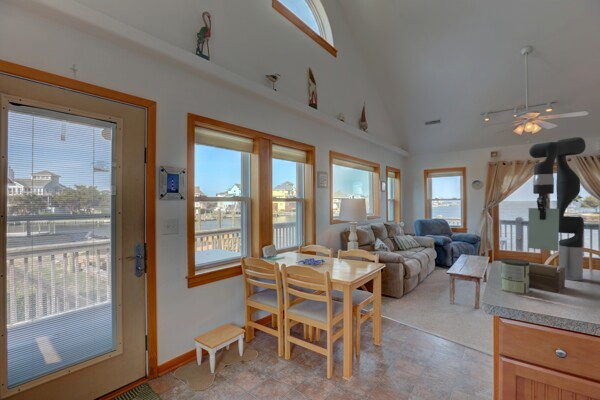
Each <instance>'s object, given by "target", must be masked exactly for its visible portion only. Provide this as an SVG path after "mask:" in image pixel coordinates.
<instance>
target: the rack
mask: <svg viewBox="0 0 600 400" xmlns="http://www.w3.org/2000/svg"><path fill="white" fill-rule="evenodd" d="M565 280H566V279H565V268H562V267H561V268H560V269H559V268H558V269H557V271H556V272H555V276H549V275H543V274H537V273H531V272H529V289H530V288H531V289H535V290H539V291H540V290H541V291H545V292H550V293H554V294H555V293H556V294H559V293H561V291H563V289H565V286H566V283H565V282H566V281H565Z"/></svg>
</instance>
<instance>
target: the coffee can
mask: <svg viewBox="0 0 600 400" xmlns="http://www.w3.org/2000/svg"><path fill="white" fill-rule="evenodd" d="M500 262H501V264H500V266H501V267H500V268H501V269H500V272H501V275H500V276H501V277H500V279H501V280H500V281H501V282H500V285H501V291H503V292H504V293H508V294H511V295H516V296H526V294H528V293H529V292H530V287H529V262H530V261H527V260H525V259H517V258H501V259H500Z"/></svg>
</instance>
